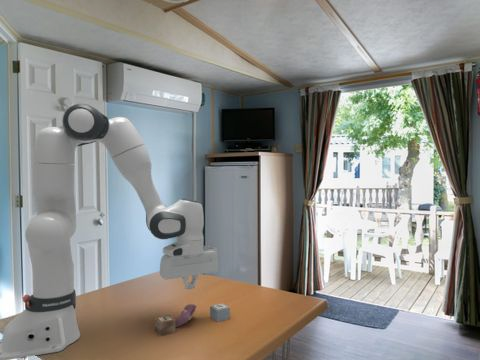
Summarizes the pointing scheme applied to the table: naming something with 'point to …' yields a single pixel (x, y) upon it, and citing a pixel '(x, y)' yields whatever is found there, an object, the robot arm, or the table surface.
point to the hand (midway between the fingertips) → (189, 288)
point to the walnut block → (164, 325)
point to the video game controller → (185, 315)
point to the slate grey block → (220, 312)
